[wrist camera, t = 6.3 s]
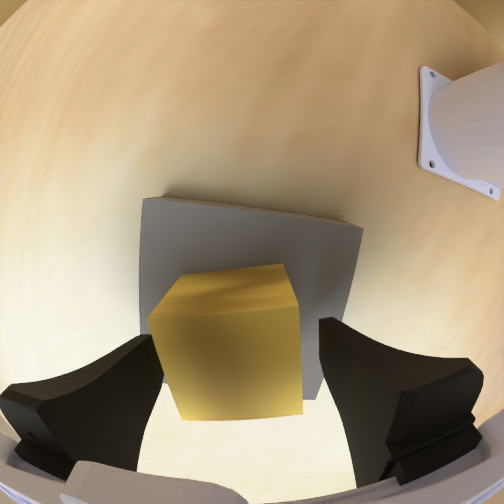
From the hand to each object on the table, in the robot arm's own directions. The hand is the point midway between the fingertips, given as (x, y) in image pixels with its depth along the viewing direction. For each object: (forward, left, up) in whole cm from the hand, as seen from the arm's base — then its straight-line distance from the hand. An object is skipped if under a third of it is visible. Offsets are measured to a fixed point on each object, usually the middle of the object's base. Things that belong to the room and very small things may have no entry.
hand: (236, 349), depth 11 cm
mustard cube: (0, 0, -3) cm, 3 cm away
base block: (0, 0, -6) cm, 6 cm away
